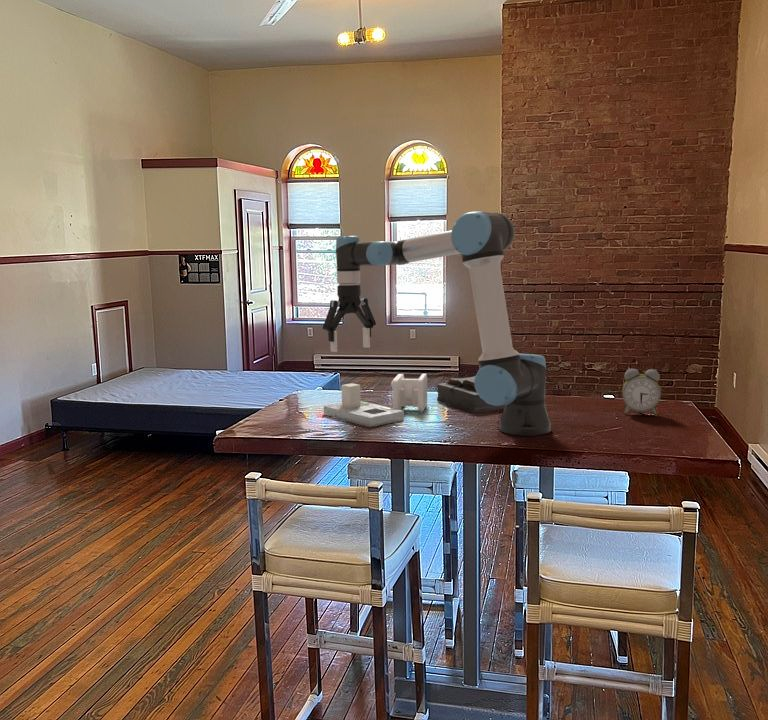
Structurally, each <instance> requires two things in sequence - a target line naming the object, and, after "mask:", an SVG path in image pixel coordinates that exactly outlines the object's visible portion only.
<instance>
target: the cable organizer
mask: <svg viewBox="0 0 768 720" xmlns="http://www.w3.org/2000/svg"><path fill="white" fill-rule="evenodd" d="M390 387H392V389H391V390H392V397H391V398H392V408H394V409H398V410H401V409H402V407H404V408H406V407H409V406H410V407H413V408H417V411H418V412H420V413H423V412H424V410H425V409H426V406H427V404H428V375H427V373H421V375H420V376H419V377H418V378H405V375H404V373H398V374H397V375H396V376H395V377H394V378H393V380H391V383H390Z"/></svg>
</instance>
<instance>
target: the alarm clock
mask: <svg viewBox="0 0 768 720" xmlns="http://www.w3.org/2000/svg"><path fill="white" fill-rule="evenodd" d="M623 377H624V380H625V382H624V383H623V386H622V389H621V392H622V393H621V396H622V400H623V402H624V403H625V405H626V408H625V410H624V412H623V414H624V413H627V414H628V413H629V412H630V411H631V410H633V411H636V412H639V411H640V412H639V413H642V412H648V411H651V413H652V414H653V415H654V417H657V416H658V413H657V410H656V408H655V407H656V406H657V405H658V404H659V402H660V400H661V395H662V392H661V388H660V385H659V383H658V382H659V381H660V378H661V377H660V372H658V370H657V369H653V368H651V369H649V368H648V369H647V370H643V373H640V372H639V370H638V369H637V368H627V370H626V371H625V372H624V376H623Z"/></svg>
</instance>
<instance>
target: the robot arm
mask: <svg viewBox="0 0 768 720" xmlns="http://www.w3.org/2000/svg"><path fill="white" fill-rule="evenodd" d="M515 229H516V228H515V225H514V223H513V222H512V220H511V219H510V218H509V217H508V216H506V215H505V214H503V213H500V212H487V211H479V210H477V211H476V210H475V211H470V212H466V213H463V214H462V215H461V216H459V217H458V218H457V219H456V221H455V222H454V224H453V226H452V229H451V230H446V231H441V232H436V233H431V234H427V235H422V236H417V237H412V238H407V239H402V240H395V241H385V240H384V241H381V240H374V241H360V237H359V236H358V235H347V236H346V235H345V236H344V235H343V236H337V237H336V241H335V255H336V256H335V259H336V281H337V282H336V283H337V286H336V287H337V288H336V290H337V293H336V294H337V297H338V299H337V300H334V299H333V300H332V299H331V300H330V302H329V309H328V312H327V315H326V316H325V320H324V323H323V326H322V330H325V331H326V332H327V333H328V335H327V336H328V341H329V344H330V352H332V353H338V331H336V329H337V328H338V326H339V324H340V322H341V321H342V319H343V318H344V316H345V315H346V314H355V316H356V317H357V318H358V320H359V321H360V322H361V324H362V325H363V326H364V327H362V348H368V349H370V348H371V337H372V329H373V328H374V326H376V325H377V323H376V320H375V317H374V315H373V313H372V311H371V309H370V306H369V300H368V298H366V297H361V298H360V296H361V285H360V283H361V269H360V268H361V266H365V267H369V266H371V267H373V266H375V267H382V266H391V265H395V266H401V265H407V264H410V263H414V262H420V261H427V260H430V259H431V260H432V259H437V258H442V257H449V256H455V255H460V257H461V261H462V265H463V266H465V267H466V268H468V270H469V271H468V272H469V278H470V283H471V289H472V295H473V302H474V308H475V314H476V315H475V316H476V321H477V327H478V334H479V339H480V345H481V351H482V353H481V355H480V356H479V358H478V359H477V362H478V367H479V369H478V371H477V373H476V374H475V375H474V376H475V380H474V384H475V389H476V392H477V393H478V395H479V396H480V398H481V399H483V400H484V401H485V402H486V403H488V404H491V405H495V406H499V405H505V407H504V409H502V413H501V416H500V419H499V422H498V429H499V431H500V432H502V433H504V434H507V435H514V436H525V437H526V436H527V437H528V436H529V437H530V436H531V437H532V436H541V435H546V434H548V433H550V432H551V431H552V430H551V428H552V427H551V420H550V418H549V415H548V410H547V408H546V383H547V382H546V379H547V378H546V375H547V373H546V372H547V365H546V363H547V362H546V358H545V356H544V355H541V354H532V353H531V354H530V353H520V352H519V351H517V350H515V349H514V346H513V339H512V333H511V328H510V321H509V316H508V308H507V302H506V296H505V289H504V285H503V283H504V282H503V278H502V270H501V262H502V261H503V259H504V258H505V254H504V252H505V251H506V250H508V249H509V248H510V247H511V246H512V244H513V242H514V240H515V235H516V230H515Z"/></svg>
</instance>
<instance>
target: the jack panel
mask: <svg viewBox="0 0 768 720" xmlns="http://www.w3.org/2000/svg"><path fill="white" fill-rule="evenodd" d="M404 414H405V411H404V410H401V409H400V410H398V409H394V408H393V407H389V406H385V405H380V404H377V403H373V402H366V401H362V400H361V406H360V407H355V408H346V407H342V402H338V403H333V404H329V405H323V415H324V416H326V415H327V416H326V417H330V416H331V417H330V418H334V417H335V418H334V419H337V418H338V420H341V419H342V421H344V422H348V423H353V424H356V425H361V426H363V427H368V428H373V427H378V426H382V425H388V424H393V423H396V422H400V421H404V420H405V415H404Z"/></svg>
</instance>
